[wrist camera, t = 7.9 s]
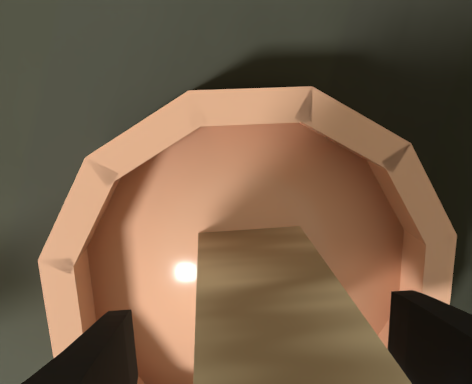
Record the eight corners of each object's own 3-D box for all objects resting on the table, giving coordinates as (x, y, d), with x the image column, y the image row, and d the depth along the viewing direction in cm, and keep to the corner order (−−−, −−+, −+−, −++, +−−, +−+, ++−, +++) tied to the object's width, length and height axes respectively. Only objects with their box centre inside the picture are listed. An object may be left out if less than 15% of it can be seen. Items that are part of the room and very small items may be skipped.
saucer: (427, 82, 14) (473, 81, 12) (402, 397, 17) (434, 446, 15) (45, 95, 13) (10, 96, 11) (92, 424, 17) (73, 481, 14)
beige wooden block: (299, 225, 14) (415, 389, 6) (300, 316, 15) (404, 556, 7) (198, 232, 14) (192, 411, 6) (205, 324, 15) (206, 581, 7)
